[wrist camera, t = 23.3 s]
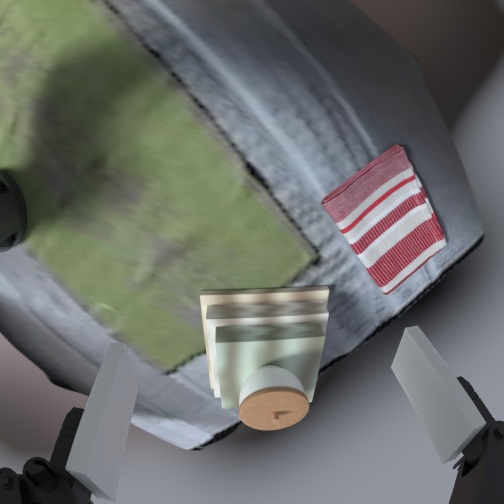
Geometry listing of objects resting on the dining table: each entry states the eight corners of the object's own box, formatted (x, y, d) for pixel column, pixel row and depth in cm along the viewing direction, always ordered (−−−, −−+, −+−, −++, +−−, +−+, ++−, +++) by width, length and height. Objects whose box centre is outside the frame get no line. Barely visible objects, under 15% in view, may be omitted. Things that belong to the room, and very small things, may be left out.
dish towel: (394, 140, 43) (402, 142, 41) (443, 241, 52) (450, 246, 49) (317, 200, 47) (322, 205, 44) (381, 293, 55) (386, 300, 53)
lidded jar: (297, 393, 51) (307, 434, 42) (238, 398, 50) (241, 440, 41) (302, 351, 46) (315, 395, 38) (235, 357, 46) (237, 403, 37)
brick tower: (211, 384, 61) (210, 418, 52) (200, 290, 51) (196, 324, 42) (311, 377, 62) (321, 410, 54) (326, 285, 53) (344, 316, 44)
